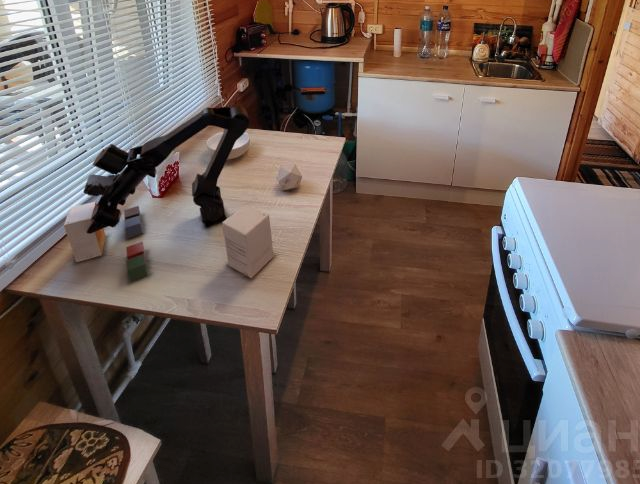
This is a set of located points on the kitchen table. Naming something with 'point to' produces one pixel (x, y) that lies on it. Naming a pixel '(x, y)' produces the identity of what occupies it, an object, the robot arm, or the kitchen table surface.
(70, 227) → the small box
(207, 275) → the kitchen table surface
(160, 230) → the kitchen table surface
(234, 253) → the rectangular carton
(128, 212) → the walnut block
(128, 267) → the dark green block
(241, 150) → the cereal bowl
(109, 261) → the kitchen table surface
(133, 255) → the brick red block
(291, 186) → the die
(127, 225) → the slate blue block
